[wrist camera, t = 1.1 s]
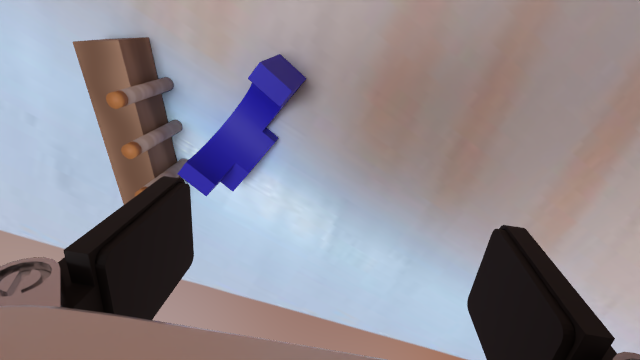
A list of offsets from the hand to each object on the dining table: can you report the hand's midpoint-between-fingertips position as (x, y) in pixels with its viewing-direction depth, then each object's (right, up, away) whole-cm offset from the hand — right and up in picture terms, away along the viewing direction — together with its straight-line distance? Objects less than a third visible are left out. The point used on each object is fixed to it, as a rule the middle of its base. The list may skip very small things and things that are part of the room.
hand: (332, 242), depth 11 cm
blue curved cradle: (-6, +8, +22) cm, 24 cm away
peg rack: (-16, +7, +23) cm, 29 cm away
